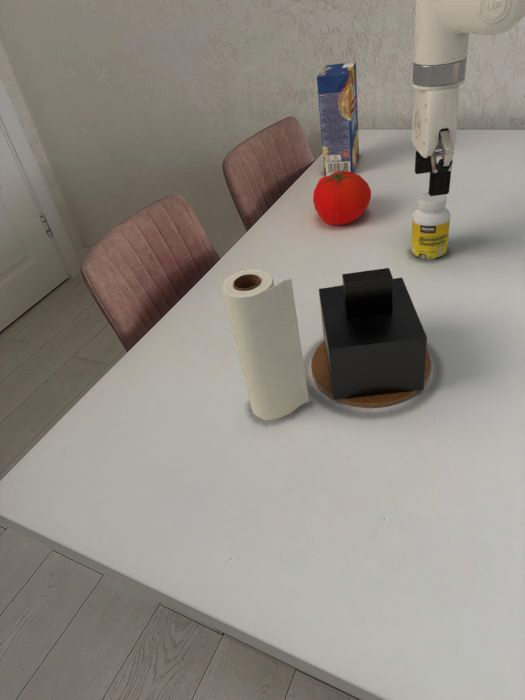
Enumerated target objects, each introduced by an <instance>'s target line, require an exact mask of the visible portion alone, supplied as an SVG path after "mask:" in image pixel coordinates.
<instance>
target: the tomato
mask: <svg viewBox="0 0 525 700" xmlns="http://www.w3.org/2000/svg"><path fill="white" fill-rule="evenodd" d="M344 169H345V168H344ZM344 169H343V170H342V171H337V172H334V173H333V174H332V175H329V176H322V177H321V178H320V179H319V180H318V182H317V183H316V185H315V187H314V190H313V195H312V196H313V197H312V203H313V206H314V210H315V212H316V213H317V215H318V217H319V218H320V219H321V221H322V222H324V223H325V224H327V225H329V226H339V227H340V226H344V225H348V224H350V223H352V222H354V221H356V220H357V219H358V218H360V217H361V216H362V215H363V214H364V213H365V211H366V210H367V209H368V207H369V205H370V202H371V198H372V189H371V187H370V185H369V184H368V182H367V181H366V180H365V179H364V178H363V177H362V176H361V175H360V174H357V173H355V172H354V173H352V172H349V171H344Z"/></svg>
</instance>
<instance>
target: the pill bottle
mask: <svg viewBox="0 0 525 700" xmlns="http://www.w3.org/2000/svg"><path fill="white" fill-rule="evenodd" d="M417 205H418V208H417V209H415V210H414V212H413V214H412V219H411V220H412V221H411V225H412V226H411V243H410V244H411V247H410V253H411V254H410V255H411V256H412V257H413V258H414V259H416V260H418V261H422V262H435V261H439V260H441V259H443V258H445V257H446V256H447V253H448V245H449V236H450V235H449V234H450V225H451V224H450V223H451V212H450V210H449V209H448V208H447V207H446V205H447V194H444V195H437V196H430V195H429V192H425V193H422V194H421V195H419V196H418V203H417Z"/></svg>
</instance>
